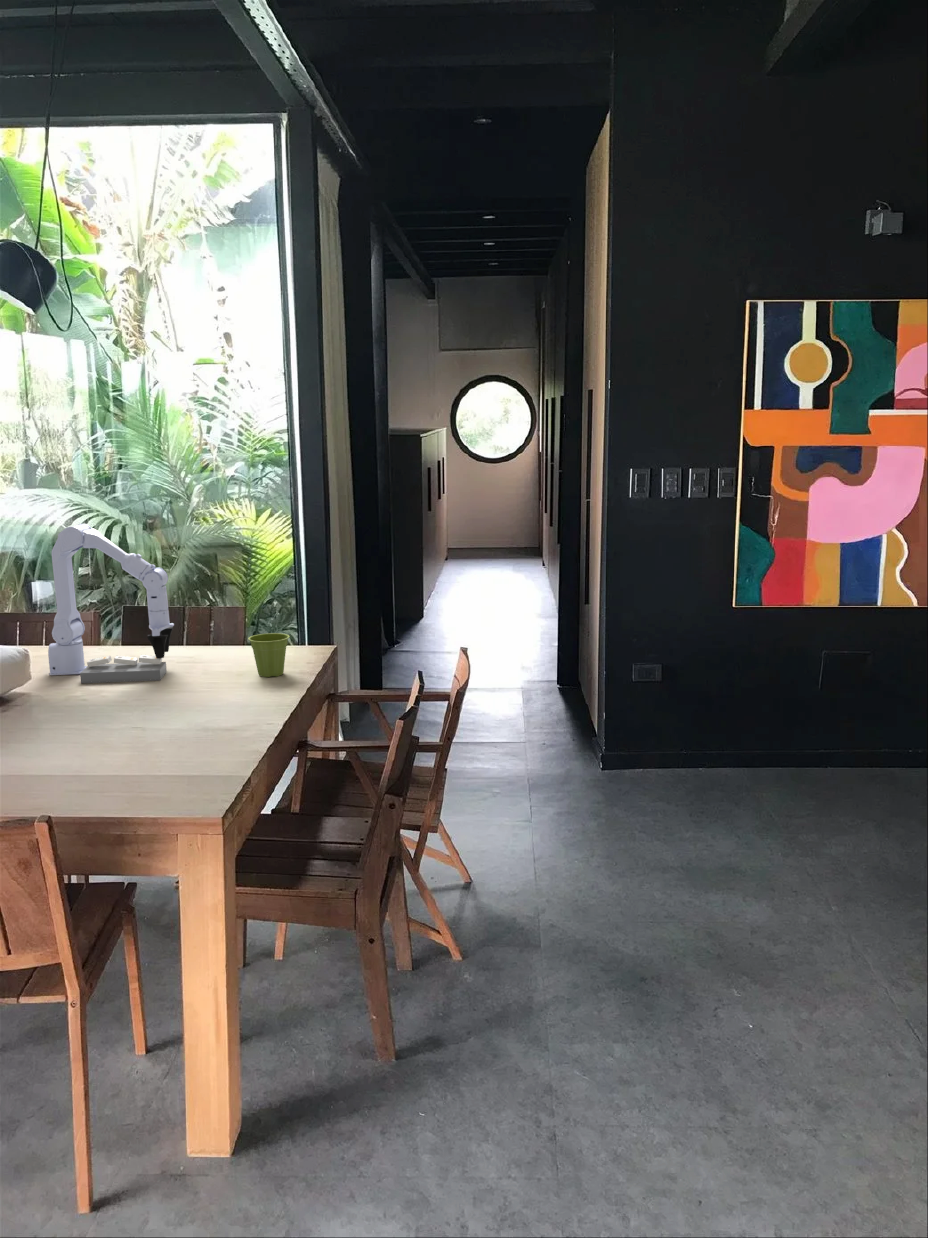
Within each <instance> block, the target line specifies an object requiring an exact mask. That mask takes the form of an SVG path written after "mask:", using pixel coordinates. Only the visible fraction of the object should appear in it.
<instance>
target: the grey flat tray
mask: <svg viewBox="0 0 928 1238" xmlns="http://www.w3.org/2000/svg"><path fill="white" fill-rule="evenodd" d="M86 666H87V667H86V668H85V669H84V670H83V671H82V672H81V673H80V674H79V675H80V683H81V684H96V683H97V684H98V683H122V682H123V683H124V682H127V683H128V682H142V681H143V682H148V681H151V682H152V681H154V682H155V681H162V679H163V678H164V676H165V675H166V674H167V672H168V671H167V661H162V662H161V663H160V664H152V663H141V662H137V664H136V665H128V664H119V663H107V664H101V665H96V666H91V667H88V665H86Z"/></svg>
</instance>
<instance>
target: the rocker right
mask: <svg viewBox="0 0 928 1238" xmlns="http://www.w3.org/2000/svg"><path fill="white" fill-rule="evenodd" d="M161 662H163V658H156V656H155V655H146V654H140V656H139V657H138V663H152V664H160V663H161Z"/></svg>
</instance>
